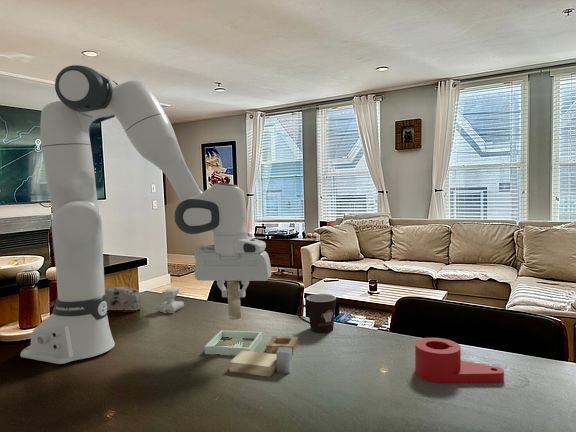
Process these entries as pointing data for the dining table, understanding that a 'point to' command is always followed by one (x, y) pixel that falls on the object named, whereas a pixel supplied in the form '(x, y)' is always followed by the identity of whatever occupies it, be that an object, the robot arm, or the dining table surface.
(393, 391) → the dining table surface
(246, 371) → the tan rectangular slab
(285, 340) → the socket block
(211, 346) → the tray
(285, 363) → the gray rectangular block
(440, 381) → the lever
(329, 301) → the coffee mug
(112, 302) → the stone
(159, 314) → the dining table surface
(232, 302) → the dowel
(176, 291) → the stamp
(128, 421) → the dining table surface
